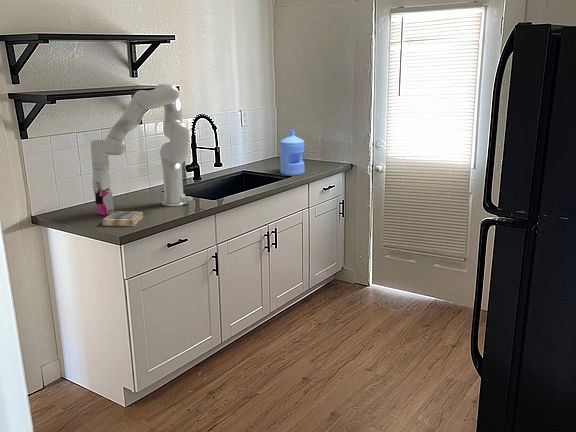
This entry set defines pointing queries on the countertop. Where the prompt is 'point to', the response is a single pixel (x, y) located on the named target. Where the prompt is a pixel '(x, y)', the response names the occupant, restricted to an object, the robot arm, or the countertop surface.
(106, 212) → the supplement box
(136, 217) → the square wooden tray
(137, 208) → the countertop surface
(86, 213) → the countertop surface
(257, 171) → the countertop surface
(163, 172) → the robot arm
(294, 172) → the water jug
